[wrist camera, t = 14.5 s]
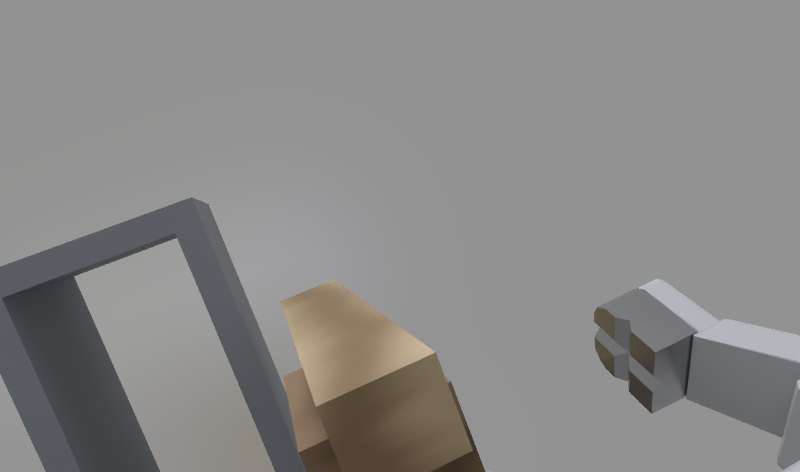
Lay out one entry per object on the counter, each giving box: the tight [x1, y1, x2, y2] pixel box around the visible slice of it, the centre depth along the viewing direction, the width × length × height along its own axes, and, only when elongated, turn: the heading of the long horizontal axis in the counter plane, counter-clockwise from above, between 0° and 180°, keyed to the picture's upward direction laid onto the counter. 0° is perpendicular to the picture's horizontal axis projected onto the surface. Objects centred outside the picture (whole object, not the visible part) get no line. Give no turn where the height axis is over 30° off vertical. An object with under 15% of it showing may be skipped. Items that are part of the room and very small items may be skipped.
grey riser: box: [0, 198, 306, 472], centre depth 40 cm, size 12×13×26 cm
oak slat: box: [281, 280, 473, 472], centre depth 27 cm, size 4×22×3 cm, turn 15°
